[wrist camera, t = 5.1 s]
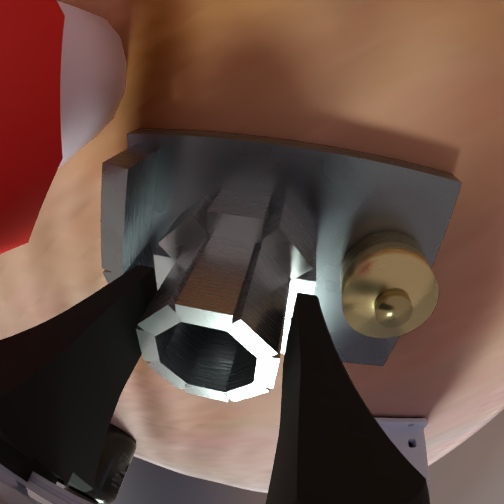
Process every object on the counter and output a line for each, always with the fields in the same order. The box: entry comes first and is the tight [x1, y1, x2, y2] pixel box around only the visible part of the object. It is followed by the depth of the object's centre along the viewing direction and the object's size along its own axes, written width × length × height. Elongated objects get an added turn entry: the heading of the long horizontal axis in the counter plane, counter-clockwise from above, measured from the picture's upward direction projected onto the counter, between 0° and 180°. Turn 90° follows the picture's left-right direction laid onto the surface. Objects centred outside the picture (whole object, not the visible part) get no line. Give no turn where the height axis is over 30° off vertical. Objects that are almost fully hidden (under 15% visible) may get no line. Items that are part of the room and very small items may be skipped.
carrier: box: [101, 128, 461, 366], centre depth 13 cm, size 13×10×4 cm
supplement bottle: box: [64, 425, 136, 504], centre depth 26 cm, size 7×7×12 cm
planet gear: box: [136, 189, 316, 402], centre depth 11 cm, size 6×6×6 cm
